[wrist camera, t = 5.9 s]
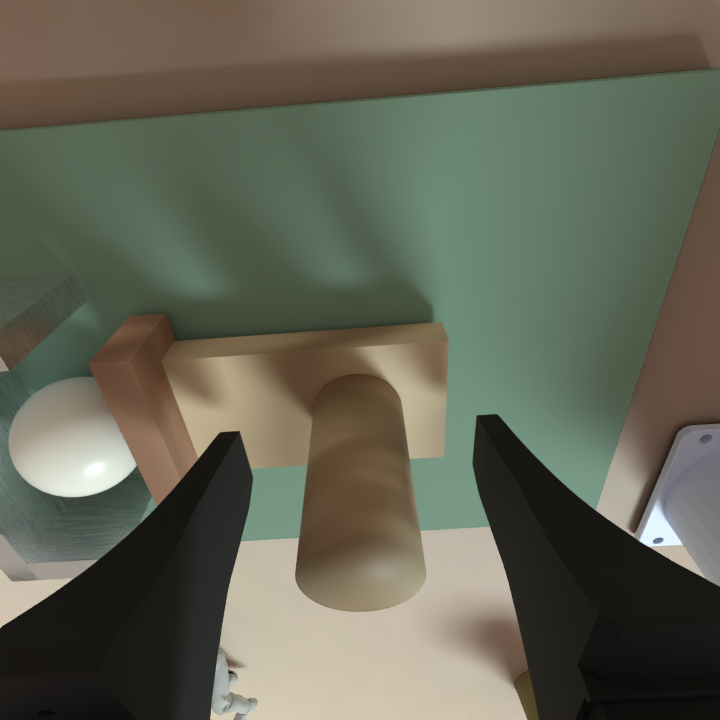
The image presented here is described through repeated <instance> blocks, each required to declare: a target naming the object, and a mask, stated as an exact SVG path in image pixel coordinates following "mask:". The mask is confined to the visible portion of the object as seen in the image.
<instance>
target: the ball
mask: <svg viewBox="0 0 720 720" xmlns="http://www.w3.org/2000/svg"><path fill="white" fill-rule="evenodd" d="M8 444H9V452H10V456H11V460H12V462H13V464H14V466H15V468H16V470H17V471H18V472H19V474H20V475H21V476H22V477H23V478H24V479H25V480H26V481H27V482H28V483H29V484H31V485H32V486H34V487H35V488H37V489H39V490H41V491H43V492H46V493H49V494H52V495H56V496H63V497H83V496H89V495H93V494H96V493H100V492H102V491H105V490H107V489H109V488H111V487H113V486H115V485H116V484H118V483H119V482H121V481H122V480H123V479H124V478H126V477H127V476H128V475H129V474H130V473H131V472H132V471H133V470H134V468H135V467H136V466H137V464H136V462H135V460H134V458H133V456H132V454H131V452H130V450H129V447H128V445H127V443H126V441H125V439H124V437H123V435H122V433H121V431H120V429H119V427H118V425H117V423H116V421H115V419H114V417H113V415H112V413H111V411H110V409H109V406H108V404H107V402H106V400H105V398H104V396H103V394H102V392H101V390H100V388H99V386H98V384H97V382H96V380H95V378H94V377H73V378H67V379H63V380H60V381H56V382H54V383H52V384H50V385H47V386H45V387H44V388H42V389H40V390H39V391H37V392H36V393H34V394H33V395H32V396H31V397H30V398H29V399H28V400H27V401H26V402H25V403H24V404H23V405H22V406H21V408H20V409H19V411H18V412H17V414H16V415H15V417H14V419H13V422H12V425H11V428H10V432H9V441H8Z"/></svg>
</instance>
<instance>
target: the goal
mask: <svg viewBox="0 0 720 720" xmlns="http://www.w3.org/2000/svg"><path fill="white" fill-rule="evenodd" d="M85 302H87V301H86V298H85V296H84V294H83V292H82V290H81V287H80V285H79V283H78V281H77V278H76V276H75V274H74V273H62V274H49V275H35V276H22V277H9V278H0V568H1V569H2V571H3V572H4V573H5V574H6V575H7V576H8V577H9V579H10V580H11V581H30V580H47V579H65V578H76V577H77V576H78V575H80V574H81V573H82V572H84V571H85V570H86V569H88V568H89V567H90V566H91V565H93V564H94V563H95V562H96V561H98V560H99V559H100V558H101V557H102V556H104V555H105V554H106V553H107V552H108V551H110V550H111V549H112V548H113V547H115V546H116V545H117V544H118V543H119V542H121V541H122V540H123V539H124V538H125V537H126V536H127V535H128V534H129V533H131V532H132V531H133V530H134V529H135V528H136V527H137V526H138V525H139V524H140V523H141V522H142V521H143V520H144V519H145V518H146V517H147V516H148V515H149V514H150V513H151V512H152V511H153V510H154V509H155V508H156V507H157V505H156V503H155V501H154V499H153V497H152V495H151V493H150V491H149V489H148V486H147V484H146V482H145V480H144V478H143V476H142V474H141V473H138V474H129V475H128V476H127V477H126V478H124V479H123V480H122V481H121V482H119V483H118V484H116V485H115V486H113V487H111V488H109V489H107V490H105V491H102V492H100V493H96V494H93V495H89V496H83V497H63V496H56V495H52V494H49V493H46V492H43V491H41V490H39V489H37V488H35V487H34V486H32V485H31V484H29V483H28V482H27V481H26V480H25V479H24V478H23V477H22V476H21V475H20V474H19V472H18V471H17V470H16V468H15V466H14V464H13V462H12V460H11V456H10V452H9V444H8V441H9V432H10V428H11V425H12V422H13V419H14V417H15V415H16V414H17V412H18V411H19V409H20V408H21V406H22V405H23V404H24V403H25V402H26V401H27V400H28V399H29V398H30V397H31V396H32V395H33V393H32V392H31V390H30V388H29V386H28V385H27V383H26V381H25V380H24V378H23V376H22V375H21V373H20V371H19V370H18V368H17V366H16V365H17V364H18V363H19V362H20V361H21V360H22V359H23V358H24V357H25V356H27V355H28V354H29V353H30V352H31V351H32V350H33V349H34V348H35V347H37V346H38V345H39V344H40V343H41V342H42V341H43V340H44V339H45V338H47V337H48V336H49V335H50V334H51V333H52V332H53V331H54V330H55V329H57V328H58V327H59V326H60V325H61V324H62V323H63V322H64V321H65V320H67V319H68V318H69V317H70V316H71V315H72V314H73V313H74V312H75V311H77V310H78V309H79V308H80V307H81V306H82V305H83V304H84V303H85Z"/></svg>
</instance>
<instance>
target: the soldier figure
mask: <svg viewBox="0 0 720 720" xmlns="http://www.w3.org/2000/svg"><path fill="white" fill-rule="evenodd" d="M237 678H238V677H237V675H236V674H233V673H231V674H228V664H227V661H226V657H225V653H224V651H223V649H222V648H221V647H220V646H219V650H218V657H217V664H216V672H215V680H214V688H213V696H212V704H211V708H212V710H213V711H214V712H215V713H216V714H218V715H223V714H225V713H228V712H237V714H236V715H235V718H234V720H246V718H247V716H248V714H249V713H250V712H251V711H253V710H254V708H255V707H256V705H257V700H256V698H249V699H248V700H247V699H246V698H244V697H243V696H241V695H237V694H234V693H232V692H229V688H230V686H231V685H233V684H235V683H236V681H237Z"/></svg>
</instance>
